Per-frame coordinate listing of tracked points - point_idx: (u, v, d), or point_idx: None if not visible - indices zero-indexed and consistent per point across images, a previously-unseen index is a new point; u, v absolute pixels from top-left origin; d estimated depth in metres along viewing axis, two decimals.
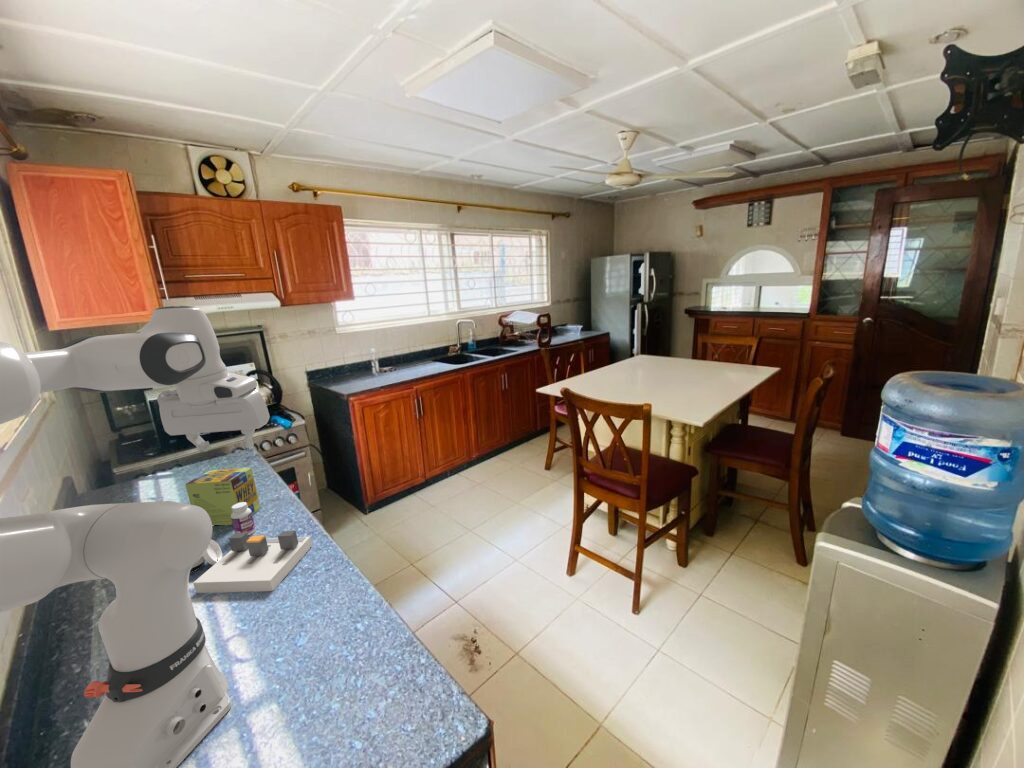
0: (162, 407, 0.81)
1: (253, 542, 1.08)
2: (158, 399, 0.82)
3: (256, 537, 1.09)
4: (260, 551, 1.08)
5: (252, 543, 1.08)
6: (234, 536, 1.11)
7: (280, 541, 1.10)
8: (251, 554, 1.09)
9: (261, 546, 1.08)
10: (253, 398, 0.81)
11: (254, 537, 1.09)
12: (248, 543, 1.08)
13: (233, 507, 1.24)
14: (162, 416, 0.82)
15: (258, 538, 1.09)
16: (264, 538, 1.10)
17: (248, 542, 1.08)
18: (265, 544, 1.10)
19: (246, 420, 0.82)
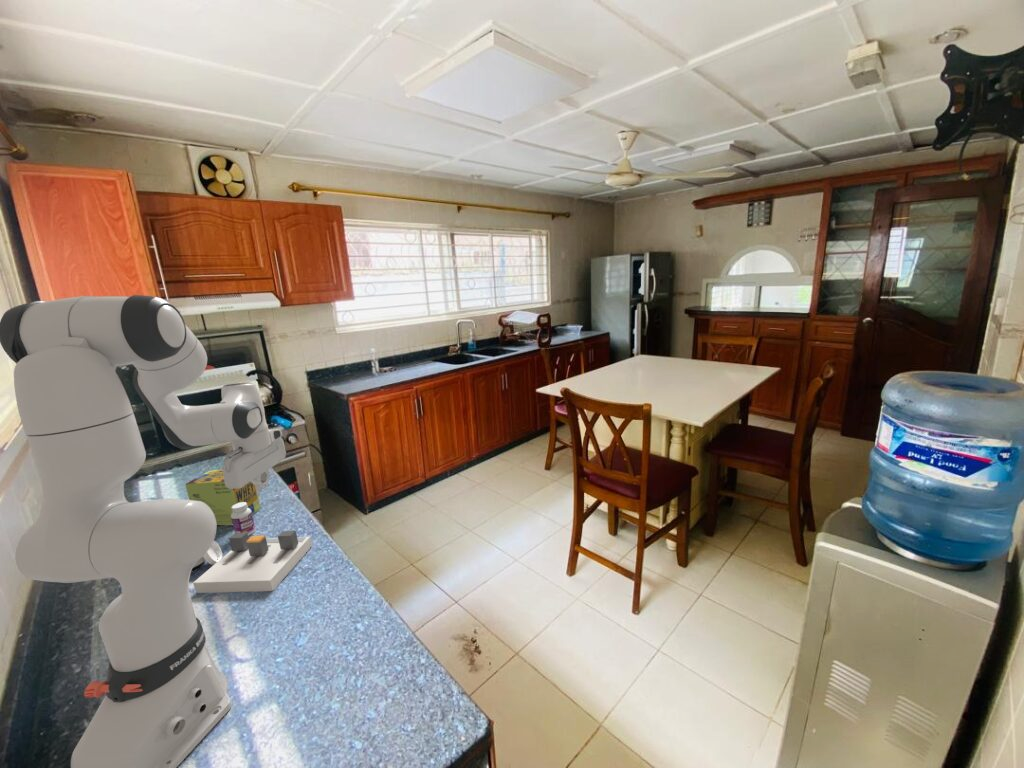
0: (237, 463, 1.02)
1: (253, 542, 1.08)
2: (227, 461, 1.00)
3: (256, 537, 1.09)
4: (260, 551, 1.08)
5: (252, 543, 1.08)
6: (234, 536, 1.11)
7: (280, 541, 1.10)
8: (251, 554, 1.09)
9: (261, 546, 1.08)
10: None
11: (254, 537, 1.09)
12: (248, 543, 1.08)
13: (233, 507, 1.24)
14: (237, 472, 1.02)
15: (258, 538, 1.09)
16: (264, 538, 1.10)
17: (248, 542, 1.08)
18: (265, 544, 1.10)
19: (280, 454, 1.18)
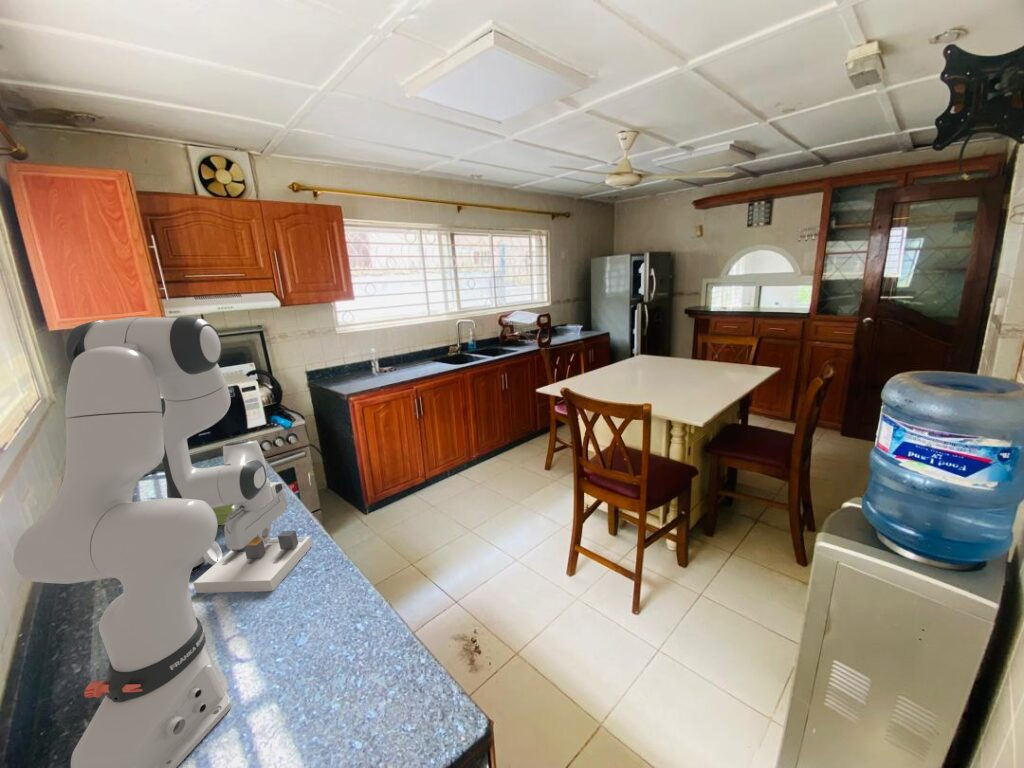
0: (239, 524, 1.01)
1: (250, 545, 1.07)
2: (228, 523, 0.99)
3: (253, 540, 1.08)
4: (257, 554, 1.07)
5: (249, 546, 1.07)
6: None
7: (280, 541, 1.10)
8: (248, 557, 1.07)
9: (258, 548, 1.07)
10: None
11: None
12: None
13: (233, 507, 1.24)
14: (239, 533, 1.01)
15: (255, 540, 1.08)
16: (261, 541, 1.08)
17: None
18: (262, 547, 1.09)
19: (282, 506, 1.17)
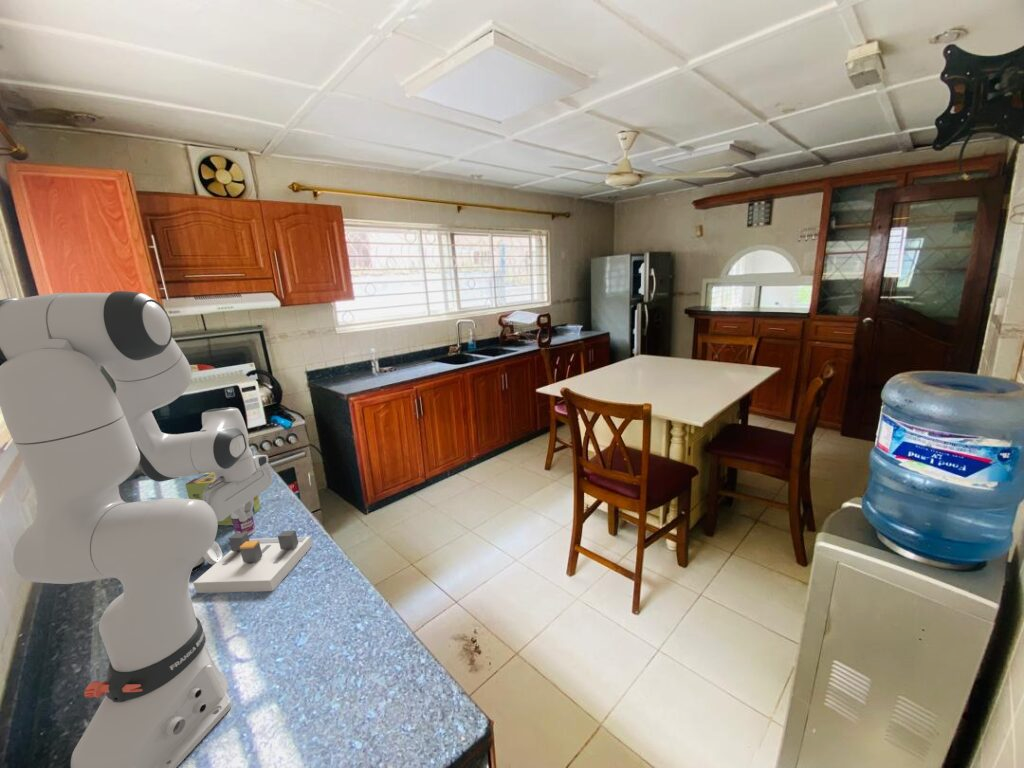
0: (218, 495, 0.95)
1: (247, 548, 1.05)
2: (206, 493, 0.94)
3: (249, 543, 1.07)
4: (254, 558, 1.06)
5: (245, 549, 1.05)
6: (234, 536, 1.11)
7: (280, 541, 1.10)
8: (244, 560, 1.06)
9: (254, 552, 1.06)
10: None
11: (247, 543, 1.07)
12: (241, 549, 1.05)
13: None
14: (218, 504, 0.95)
15: (252, 543, 1.06)
16: (258, 544, 1.07)
17: (241, 548, 1.05)
18: (259, 550, 1.07)
19: (266, 481, 1.12)
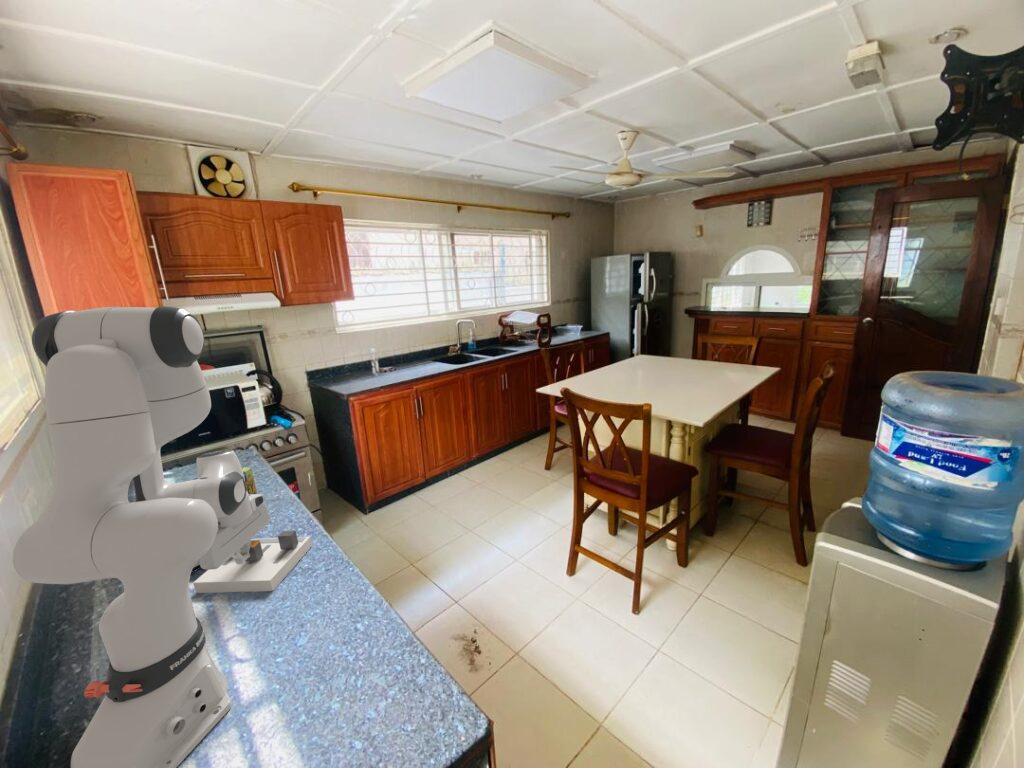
0: (214, 542, 0.93)
1: None
2: None
3: None
4: (255, 557, 1.06)
5: None
6: None
7: (280, 541, 1.10)
8: None
9: (255, 551, 1.06)
10: None
11: None
12: None
13: None
14: (214, 551, 0.93)
15: (253, 542, 1.07)
16: (259, 543, 1.07)
17: None
18: (260, 549, 1.08)
19: (263, 520, 1.10)
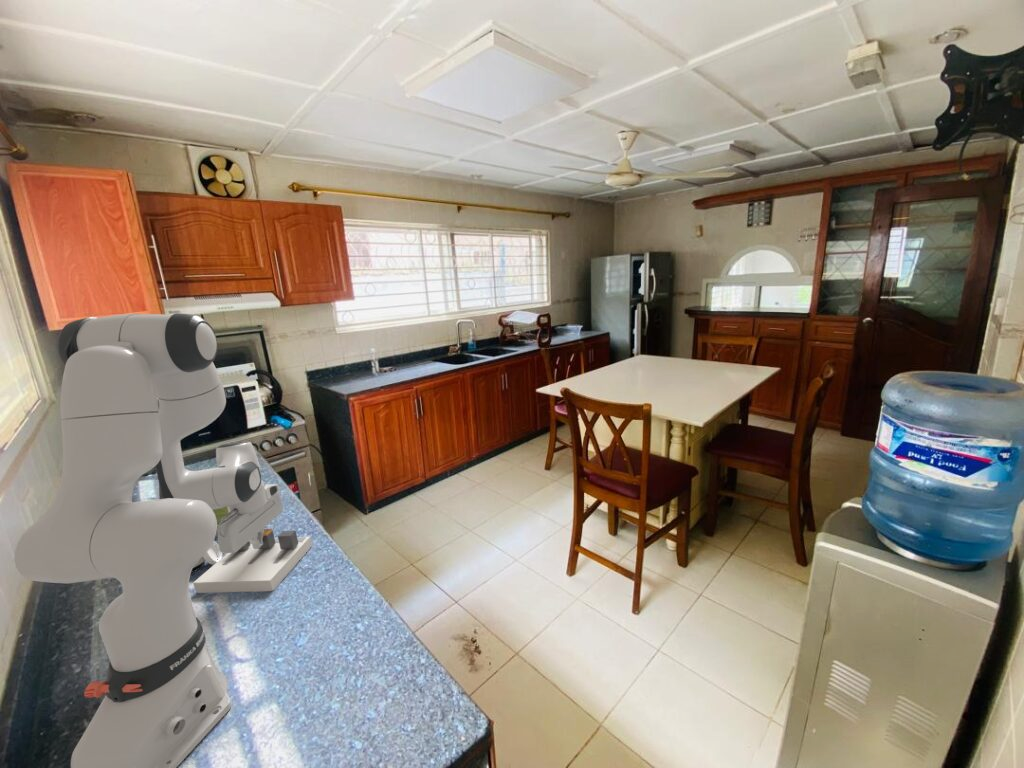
0: (232, 527, 0.99)
1: None
2: (221, 526, 0.97)
3: None
4: (267, 545, 1.11)
5: None
6: None
7: (280, 541, 1.10)
8: None
9: (268, 539, 1.11)
10: None
11: None
12: None
13: None
14: (232, 536, 0.99)
15: (266, 531, 1.12)
16: (271, 531, 1.12)
17: None
18: (272, 537, 1.13)
19: (276, 509, 1.15)
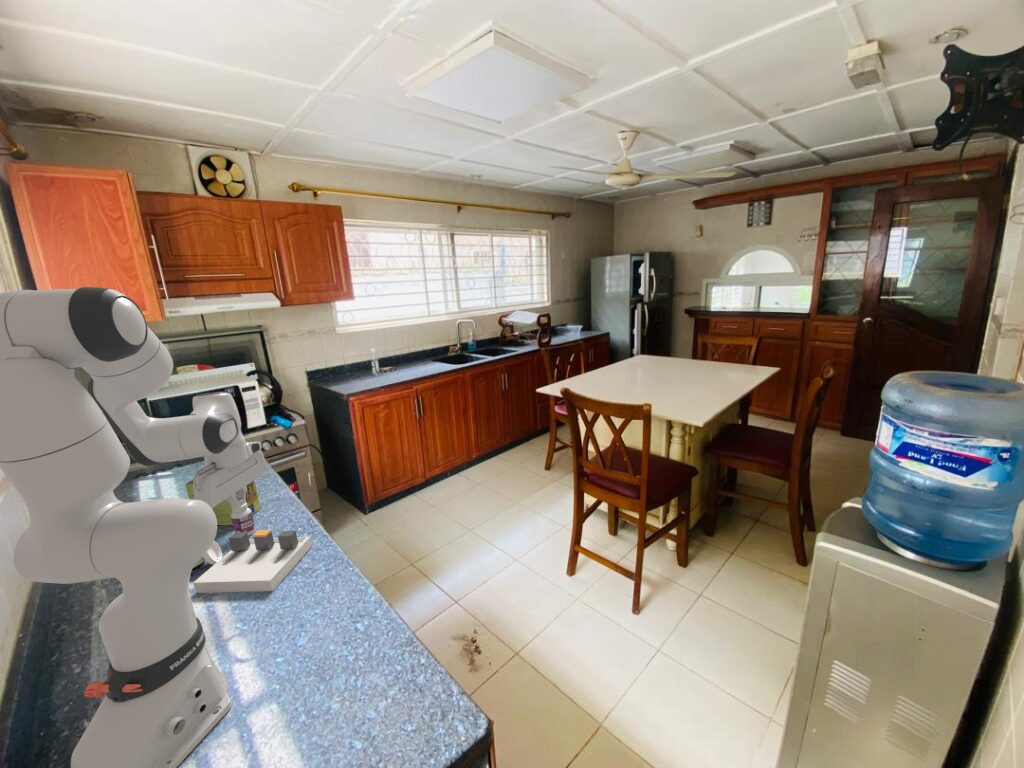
0: (209, 481, 0.93)
1: (260, 536, 1.10)
2: (197, 479, 0.92)
3: (262, 531, 1.12)
4: (266, 546, 1.11)
5: (258, 537, 1.10)
6: (234, 536, 1.11)
7: (280, 541, 1.10)
8: (257, 548, 1.11)
9: (267, 540, 1.11)
10: None
11: (260, 531, 1.12)
12: (254, 538, 1.10)
13: None
14: (209, 490, 0.93)
15: (264, 532, 1.11)
16: (270, 532, 1.12)
17: (254, 536, 1.10)
18: (271, 538, 1.12)
19: (259, 468, 1.10)
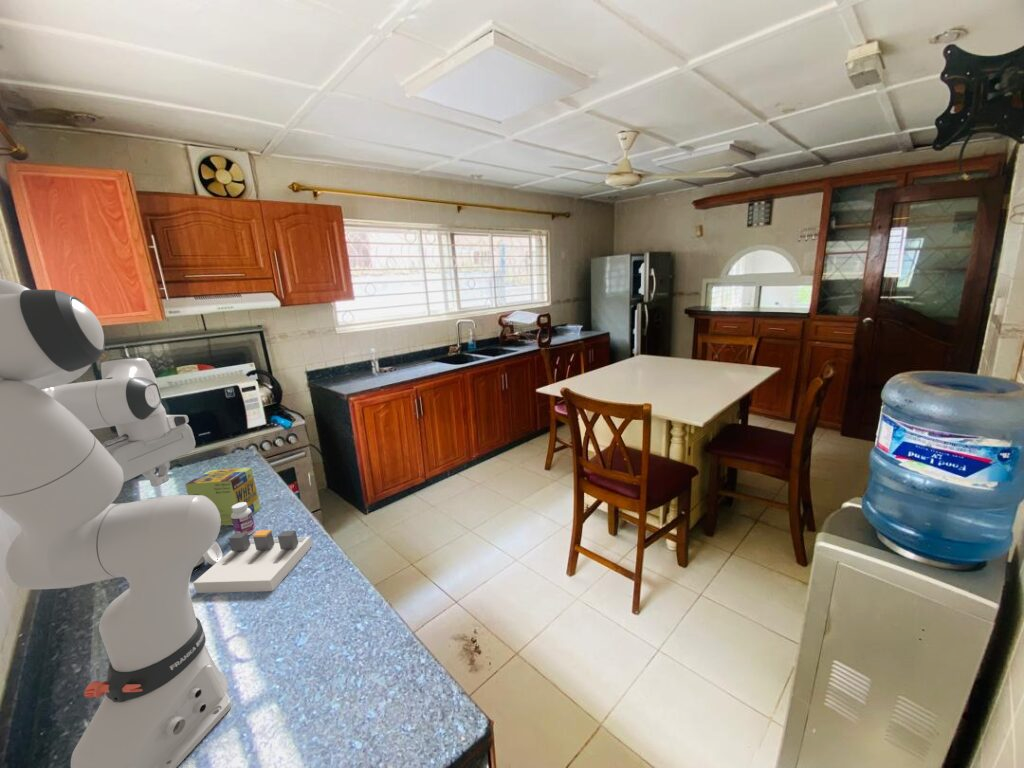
0: (118, 454, 0.85)
1: (260, 536, 1.10)
2: None
3: (262, 531, 1.12)
4: (266, 546, 1.11)
5: (258, 537, 1.10)
6: (234, 536, 1.11)
7: (280, 541, 1.10)
8: (257, 548, 1.11)
9: (267, 540, 1.11)
10: None
11: (260, 531, 1.12)
12: (254, 538, 1.10)
13: (233, 507, 1.24)
14: (117, 463, 0.85)
15: (264, 532, 1.11)
16: (270, 532, 1.12)
17: (254, 536, 1.10)
18: (271, 538, 1.12)
19: (186, 444, 1.01)
